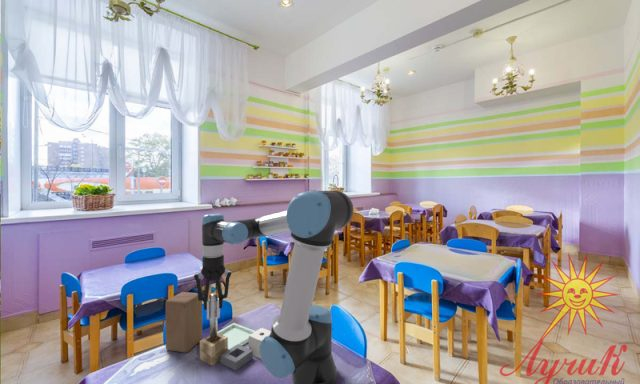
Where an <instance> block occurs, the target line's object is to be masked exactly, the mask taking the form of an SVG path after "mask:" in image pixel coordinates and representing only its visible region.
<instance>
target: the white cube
mask: <svg viewBox="0 0 640 384" xmlns="http://www.w3.org/2000/svg"><path fill="white" fill-rule="evenodd" d="M254 331H255V332H254V333H252V334H251V335H249V342H248V349H250V350H252V351H253V357H256V358H258V359H261V356H260V343H261V341H262V340H263V339H264V338H265V337H266V336H269V335H270V333H271V330H269V329H267V328H263V327H260V328H258V329H256V330H254ZM261 360H262V359H261Z"/></svg>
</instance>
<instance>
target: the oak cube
mask: <svg viewBox="0 0 640 384" xmlns="http://www.w3.org/2000/svg"><path fill="white" fill-rule="evenodd" d="M226 351H228V337H226V336H224V335H221V334H219V333H218V336H217V337H216V338H214V339H211V338H210V335H208V336H205V338H202V340H200V342H199V360H200V361H202V362H204V363H206V364H208V365H210V366H214V365H216V364H217V363H219V362H221V355H222V354H223V353H225V352H226Z"/></svg>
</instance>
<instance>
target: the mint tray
mask: <svg viewBox="0 0 640 384" xmlns="http://www.w3.org/2000/svg"><path fill="white" fill-rule="evenodd" d="M255 331H256V330H254V329H251V328H249V327H246V326H244V325H240V324H238V323H236V322H233V323H231V324H229V325H227V326H225V327H224V328H222V329H220V330H218V333H219V334H221V335H224V336H226V337H228V350H229V349H231V348H232V347H234V346H236V345H237V344H239V345H241V346H243V347H244V345H246V344H247V343H249V335H251V334H252V333H254V332H255Z"/></svg>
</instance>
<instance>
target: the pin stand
mask: <svg viewBox="0 0 640 384" xmlns="http://www.w3.org/2000/svg"><path fill="white" fill-rule="evenodd" d="M253 357H254V356H253V351H252V350H250V349H249V347H248V348H247V347H245V346H244V345H243V346H241V345H239V344H237V345H236V346H234V347H232V348H231V349H229V350H228V351H226V352H225V353H223V354H222V355H221V360H220V364H221V365H223V366H225V367H227V368H229V369H231V370H232V371H235V372H237V371H238V370H239V369H241V368H242V367H243V366H244V365H246V364H247V363H249V362H250V361H251V360H253Z"/></svg>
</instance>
